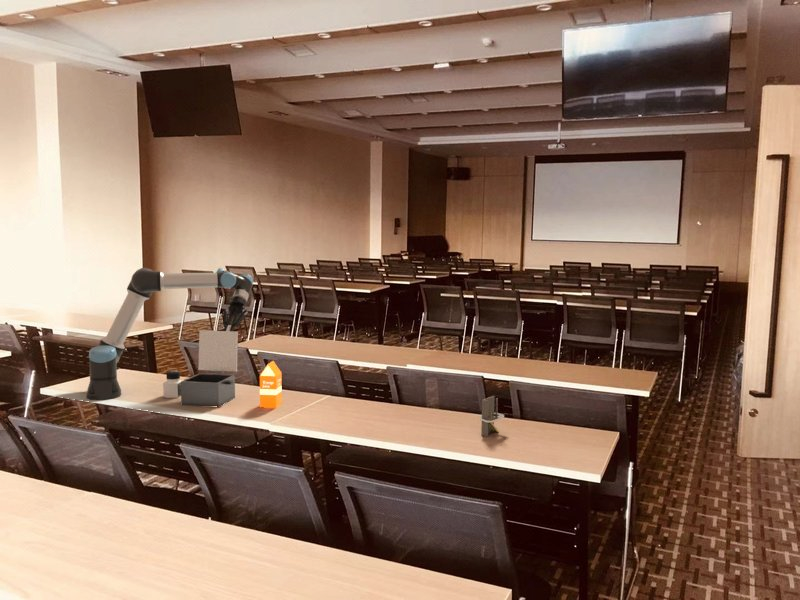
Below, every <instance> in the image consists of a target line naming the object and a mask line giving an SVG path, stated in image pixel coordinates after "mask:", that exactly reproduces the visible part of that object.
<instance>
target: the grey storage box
mask: <svg viewBox="0 0 800 600" xmlns="http://www.w3.org/2000/svg"><path fill="white" fill-rule="evenodd" d="M235 375H236V374H221V373H197V374H195V375H193V376H190V377H188V378H184V379H182V380H183V381H181V396H180V399H181V400H180V405H181V406H182V407H183V406H185V407H201V406H217V407H216V408H220V407H222V406H223V404H224V403H225V404H227V403H229V402H230V401H232V400H234V399H236V376H235ZM233 398H234V399H233ZM231 399H232V400H231ZM229 400H230V401H229ZM228 401H229V402H228ZM226 402H227V403H226ZM225 404H224V405H225ZM221 405H222V406H221ZM219 406H220V407H219Z"/></svg>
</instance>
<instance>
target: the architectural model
mask: <svg viewBox="0 0 800 600" xmlns="http://www.w3.org/2000/svg"><path fill="white" fill-rule="evenodd" d="M498 399H499V398H498V397H497V398H496V396H495V395H492V396H488V397H487V398H484V399H482V400H481V416H478V420H480V421H481V430H480V431H481V432H480V433H481V436H482V437H486V438H488V437H489V434H490V433H492V432H495V433H496V432H497V433H499V432H500V431H499V429H498V428H497V427H496V425H495V422H497V421H500V420H502V419H503V418H504V417H505V414H504V413H499V412H498V403H499V401H498Z"/></svg>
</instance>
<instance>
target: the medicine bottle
mask: <svg viewBox="0 0 800 600" xmlns="http://www.w3.org/2000/svg"><path fill="white" fill-rule="evenodd" d="M183 380H184V379H182V380H181V372H180V371H178V370H169V371H167V372H166V381H165V382H163V384H162V385H163V386H162V388H163V389H162V391H163V398H164V397H166V398H169V399H173V398H174V399H178V398H181V381H183Z"/></svg>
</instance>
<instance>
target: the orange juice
mask: <svg viewBox="0 0 800 600" xmlns="http://www.w3.org/2000/svg"><path fill="white" fill-rule="evenodd" d="M282 374H283V373H282V371H281V370H280V368H279V367H278V366H277V364H276V363H275V360H272V361H270V362H269V363H267V365H266V366H265V368H264V369H263V370H262V372H261V373H260V375H259V408H261V407H264V408H265V409H277V408H278V407H279V406H281V404H282V402H283V399H282V398H283V395H282V392H283V391H282V389H283V388H282V378H283V377H282ZM264 408H263V409H264ZM261 409H262V408H261Z"/></svg>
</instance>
